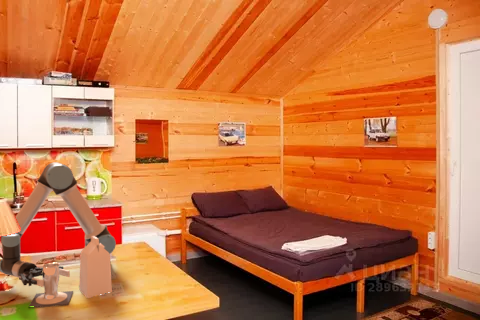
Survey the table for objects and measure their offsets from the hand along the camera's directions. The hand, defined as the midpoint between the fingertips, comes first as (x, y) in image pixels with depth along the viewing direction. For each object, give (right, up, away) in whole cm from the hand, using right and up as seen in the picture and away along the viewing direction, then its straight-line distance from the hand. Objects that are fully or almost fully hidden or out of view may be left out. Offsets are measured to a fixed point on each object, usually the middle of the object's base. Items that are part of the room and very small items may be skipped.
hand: (56, 278), depth 186 cm
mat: (-3, -10, +2) cm, 11 cm away
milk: (+13, -10, +13) cm, 21 cm away
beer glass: (-3, -9, +2) cm, 10 cm away
